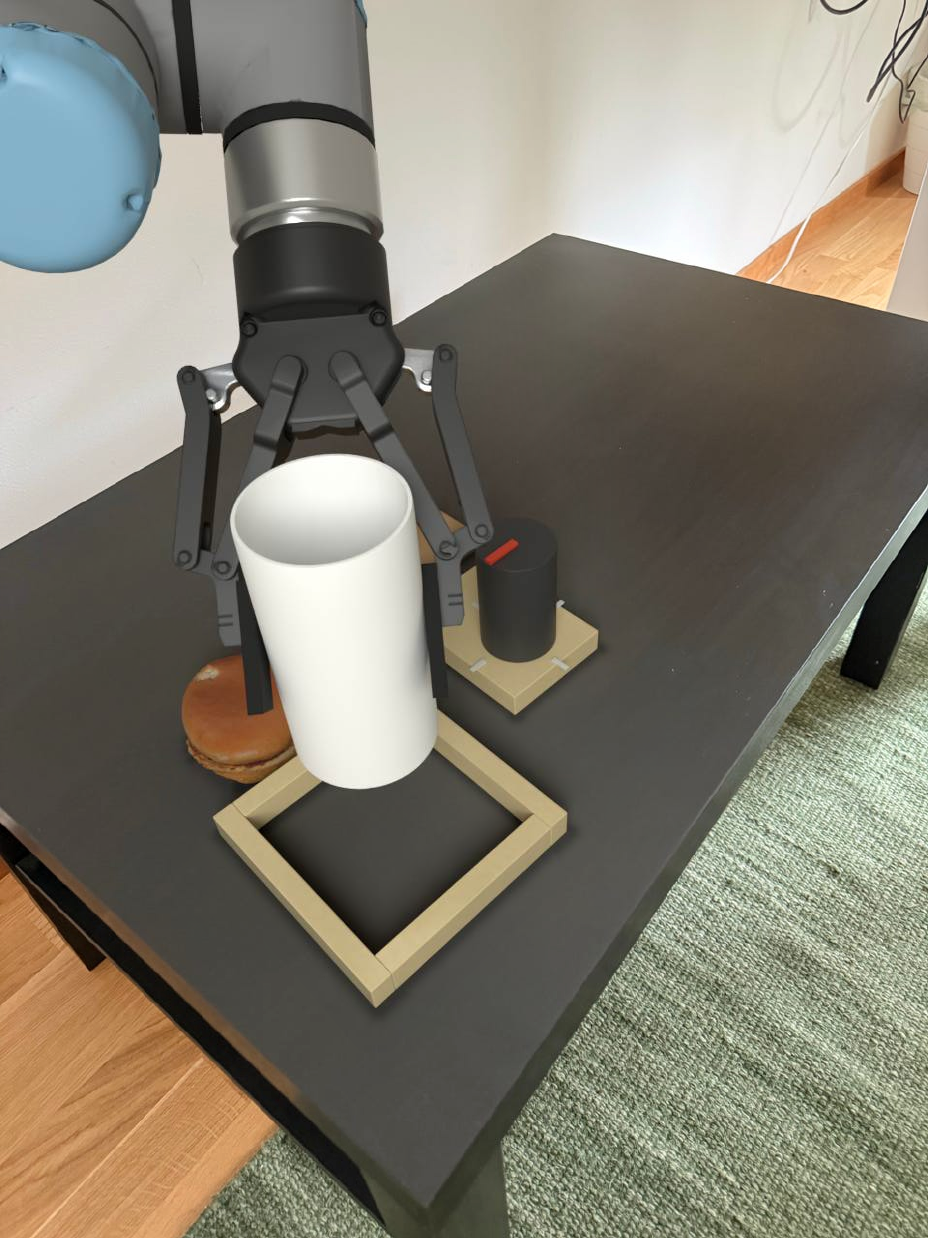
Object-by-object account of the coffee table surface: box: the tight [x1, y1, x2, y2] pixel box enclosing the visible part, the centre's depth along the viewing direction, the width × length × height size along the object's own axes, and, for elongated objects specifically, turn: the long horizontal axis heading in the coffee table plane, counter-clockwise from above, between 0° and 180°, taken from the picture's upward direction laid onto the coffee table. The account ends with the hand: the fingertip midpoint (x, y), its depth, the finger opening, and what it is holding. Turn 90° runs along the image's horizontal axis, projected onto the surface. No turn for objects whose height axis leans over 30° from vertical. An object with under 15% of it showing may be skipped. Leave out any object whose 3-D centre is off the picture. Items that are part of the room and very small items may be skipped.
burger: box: [181, 653, 298, 784], centre depth 65 cm, size 10×9×5 cm
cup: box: [230, 453, 439, 790], centre depth 47 cm, size 8×8×16 cm
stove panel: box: [442, 565, 599, 716], centre depth 71 cm, size 13×10×2 cm
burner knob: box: [474, 517, 559, 663], centre depth 66 cm, size 6×6×9 cm
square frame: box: [212, 708, 568, 1008], centre depth 59 cm, size 16×16×2 cm
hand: (351, 703), depth 46 cm, fingers closed on cup, 8 cm apart
